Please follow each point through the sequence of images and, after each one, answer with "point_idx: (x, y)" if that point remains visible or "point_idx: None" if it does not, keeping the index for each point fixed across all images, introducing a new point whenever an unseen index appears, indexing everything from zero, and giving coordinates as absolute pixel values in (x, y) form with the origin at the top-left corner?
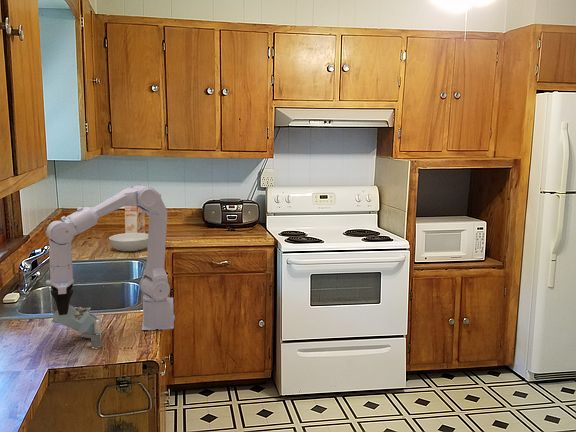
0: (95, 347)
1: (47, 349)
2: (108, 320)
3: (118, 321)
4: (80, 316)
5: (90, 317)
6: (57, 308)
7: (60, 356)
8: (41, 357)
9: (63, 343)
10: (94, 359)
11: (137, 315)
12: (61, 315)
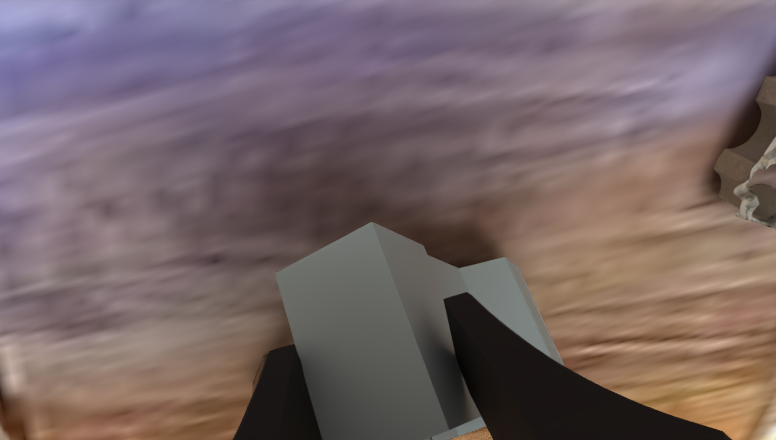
0: (255, 383)
1: (268, 97)
2: (698, 322)
3: (661, 371)
4: (750, 206)
5: (446, 432)
6: (246, 410)
7: (138, 220)
8: (111, 98)
9: (372, 175)
10: (105, 407)
11: (713, 427)
12: (301, 350)
